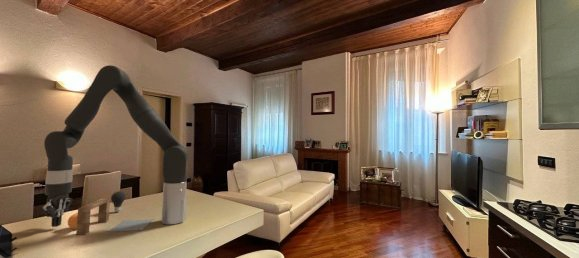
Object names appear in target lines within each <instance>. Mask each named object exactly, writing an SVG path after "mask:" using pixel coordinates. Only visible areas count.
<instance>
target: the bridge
mask: <svg viewBox="0 0 579 258" xmlns="http://www.w3.org/2000/svg"><path fill="white" fill-rule="evenodd" d="M110 202H111V197H109V198H108V197H107V198H104V197H103V198H100V199H98V200H95V201H93V202H90V203H88V204H86V205H84V206H81V207H79V208H77V213H78V216H77V229H75V232H76V233H75V235H76V236H83V235H84V236H85V235H87V234H89V233H90V225H91V224H90V222H91V210H93V209H95V208H97V207H98V216H97V217H98V218H97V223H98V224H101V223H108V222H109V220H110V219H109V218H110V206H111V205H110Z"/></svg>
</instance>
